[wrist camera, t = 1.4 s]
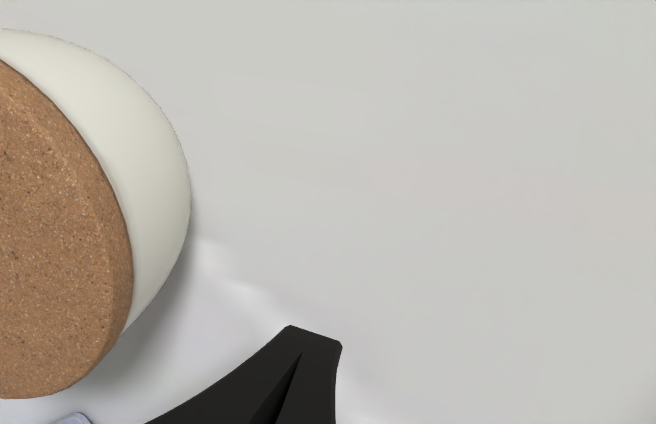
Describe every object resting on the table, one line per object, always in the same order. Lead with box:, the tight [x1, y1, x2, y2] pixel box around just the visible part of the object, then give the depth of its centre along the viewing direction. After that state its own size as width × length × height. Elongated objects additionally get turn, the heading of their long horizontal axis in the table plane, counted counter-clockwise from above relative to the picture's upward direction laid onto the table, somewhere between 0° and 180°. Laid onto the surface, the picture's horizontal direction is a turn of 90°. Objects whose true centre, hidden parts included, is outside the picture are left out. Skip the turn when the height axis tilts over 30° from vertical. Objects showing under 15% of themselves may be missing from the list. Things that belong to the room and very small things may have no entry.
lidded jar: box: [0, 28, 191, 399], centre depth 17 cm, size 11×11×9 cm
